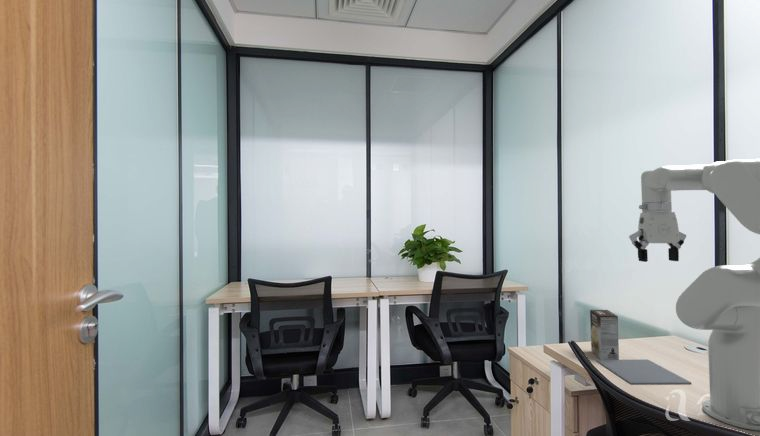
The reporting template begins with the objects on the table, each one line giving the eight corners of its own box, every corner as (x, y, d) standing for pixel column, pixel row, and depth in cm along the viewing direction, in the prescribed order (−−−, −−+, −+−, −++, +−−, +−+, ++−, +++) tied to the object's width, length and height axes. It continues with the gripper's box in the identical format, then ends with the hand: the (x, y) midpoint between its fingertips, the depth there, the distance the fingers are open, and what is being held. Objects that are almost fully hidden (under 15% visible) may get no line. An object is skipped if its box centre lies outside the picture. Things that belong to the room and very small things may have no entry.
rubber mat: (691, 384, 106) (691, 382, 106) (630, 384, 106) (630, 382, 106) (647, 360, 124) (647, 359, 124) (596, 361, 124) (596, 359, 124)
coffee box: (590, 351, 134) (589, 309, 134) (608, 351, 133) (607, 309, 133) (600, 360, 125) (599, 315, 125) (620, 361, 124) (618, 315, 124)
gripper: (637, 208, 109) (639, 262, 109) (694, 207, 109) (695, 261, 108) (621, 209, 117) (623, 260, 116) (674, 208, 116) (676, 259, 116)
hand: (658, 261), depth 112 cm, fingers open, 9 cm apart
